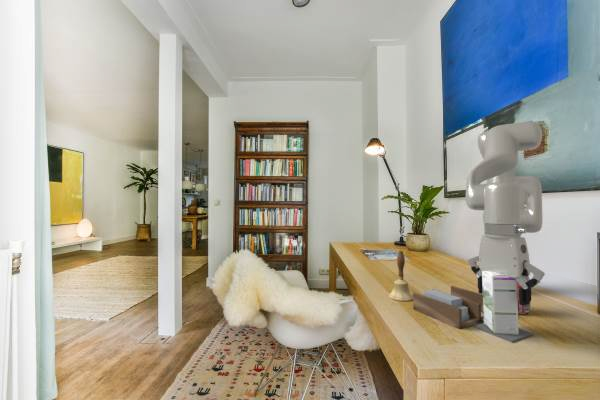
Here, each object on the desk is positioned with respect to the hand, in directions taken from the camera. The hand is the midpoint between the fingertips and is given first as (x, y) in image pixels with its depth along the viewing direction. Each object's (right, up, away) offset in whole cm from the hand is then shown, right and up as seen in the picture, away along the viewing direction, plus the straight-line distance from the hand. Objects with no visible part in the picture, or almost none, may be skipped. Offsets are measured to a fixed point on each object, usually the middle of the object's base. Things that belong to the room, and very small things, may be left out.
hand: (502, 298), depth 71 cm
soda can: (+14, -9, +13) cm, 21 cm away
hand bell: (-17, -9, +26) cm, 32 cm away
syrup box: (-1, -8, 0) cm, 8 cm away
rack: (-5, -9, +12) cm, 15 cm away
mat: (0, -8, 0) cm, 8 cm away
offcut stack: (-10, -9, +10) cm, 17 cm away
